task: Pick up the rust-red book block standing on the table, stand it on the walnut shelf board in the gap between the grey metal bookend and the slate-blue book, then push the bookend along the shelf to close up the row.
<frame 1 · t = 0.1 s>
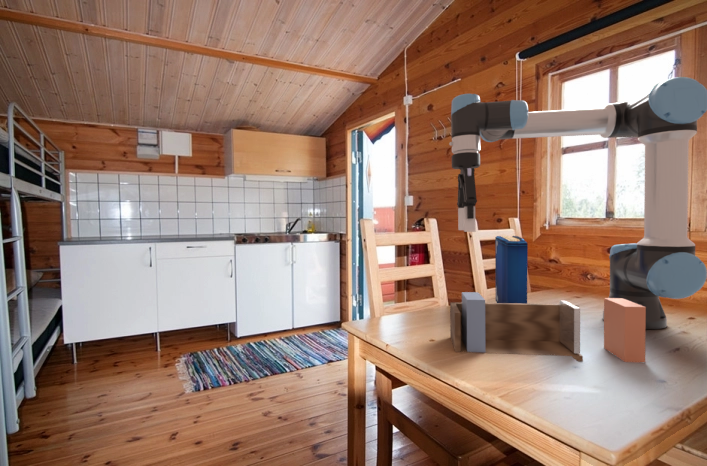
hand: (466, 231, 105), 28 cm above the table, fingers open, 13 cm apart
book new: (623, 354, 86), on the table
book: (511, 310, 130), on the table
bookend: (569, 325, 88), point 6 cm above the table, slide at 0.0 cm
book a: (473, 345, 91), point 1 cm above the table, touching shelf
shelf: (511, 350, 91), on the table
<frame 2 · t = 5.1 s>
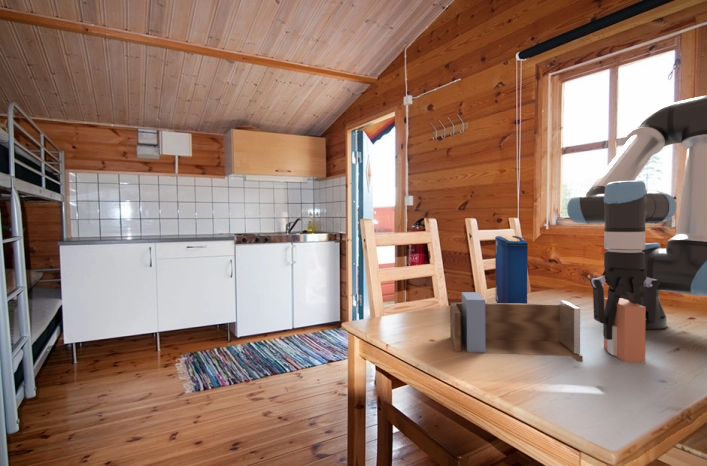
hand: (623, 353, 86), 0 cm above the table, fingers closed on book new, 4 cm apart
book new: (623, 354, 86), on the table, touching gripper
everything else where it was.
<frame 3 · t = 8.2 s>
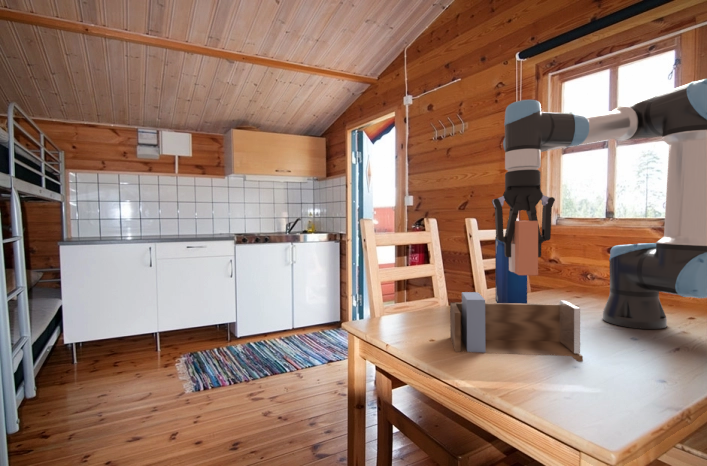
hand: (522, 271, 89), 19 cm above the table, fingers closed on book new, 4 cm apart
book new: (522, 272, 89), point 19 cm above the table, touching gripper
everything else where it was.
when the fingers open (2 cm above the table, at t = 11.5 s): book new stays where it is, resting on shelf.
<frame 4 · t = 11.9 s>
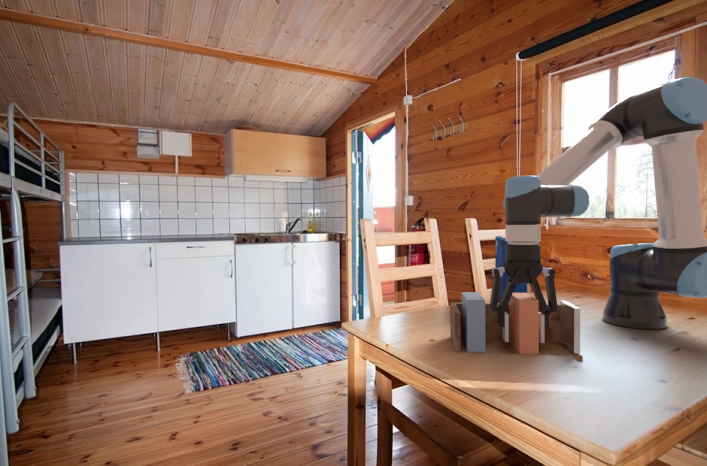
hand: (523, 340, 90), 3 cm above the table, fingers open, 7 cm apart
book new: (523, 347, 90), point 1 cm above the table, touching shelf
everything else where it was.
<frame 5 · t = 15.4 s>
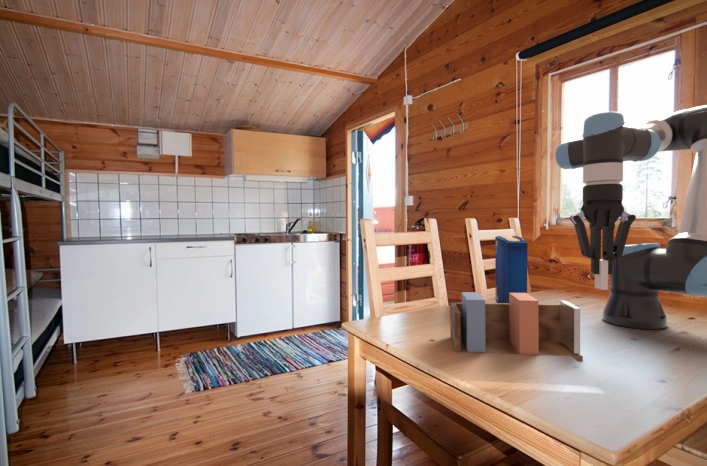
hand: (601, 288, 86), 15 cm above the table, fingers closed
nothing on the table moved.
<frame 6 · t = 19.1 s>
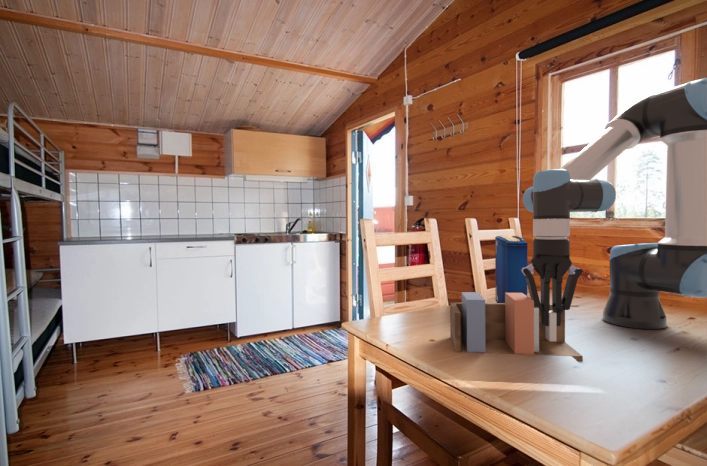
hand: (550, 339, 88), 3 cm above the table, fingers closed
book new: (519, 347, 90), point 1 cm above the table, touching bookend, shelf
bookend: (530, 324, 89), point 6 cm above the table, slide at 8.5 cm, touching book new, hand
everything else where it was.
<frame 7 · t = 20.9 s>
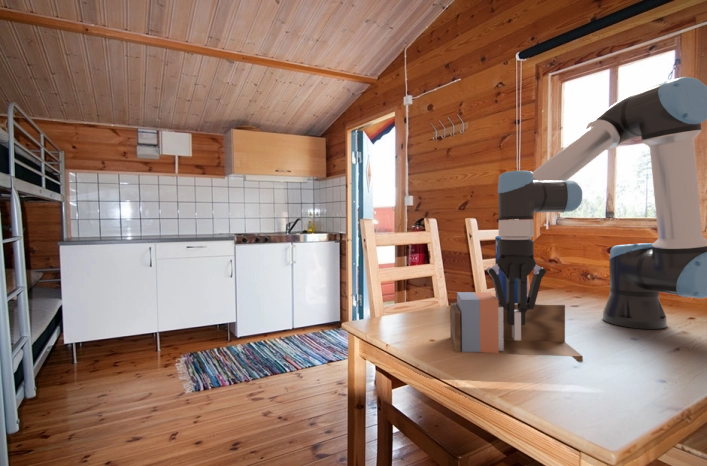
hand: (516, 338, 90), 3 cm above the table, fingers closed
book new: (485, 346, 91), point 1 cm above the table, touching book a, bookend, shelf
bookend: (496, 324, 91), point 6 cm above the table, slide at 16.1 cm, touching book new, hand
book a: (468, 345, 91), point 1 cm above the table, touching book new, shelf
everything else where it was.
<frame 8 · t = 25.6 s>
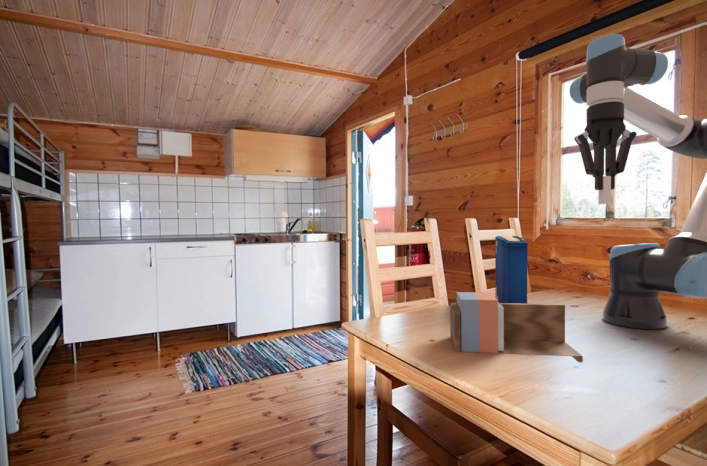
hand: (604, 203, 92), 34 cm above the table, fingers closed
book new: (485, 346, 91), point 1 cm above the table, touching book a, shelf
bookend: (496, 324, 91), point 6 cm above the table, slide at 16.0 cm
everything else where it was.
at the end: book new inside the target area (2.4 cm from its centre), point 1.0 cm above the table; book new tilted 0°; bookend slide at 16.0 cm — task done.
